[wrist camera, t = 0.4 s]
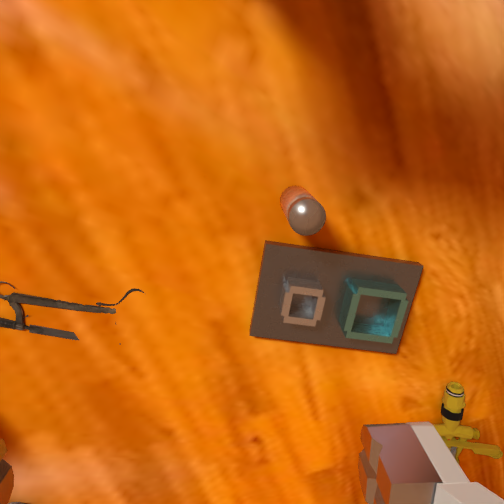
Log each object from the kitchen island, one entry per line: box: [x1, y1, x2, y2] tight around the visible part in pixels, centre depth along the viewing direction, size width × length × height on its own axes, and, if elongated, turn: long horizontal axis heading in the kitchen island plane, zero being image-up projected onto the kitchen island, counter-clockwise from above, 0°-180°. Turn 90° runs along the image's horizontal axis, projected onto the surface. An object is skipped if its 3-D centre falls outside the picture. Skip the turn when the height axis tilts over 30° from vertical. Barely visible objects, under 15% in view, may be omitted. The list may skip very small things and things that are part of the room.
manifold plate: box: [250, 241, 423, 354], centre depth 54 cm, size 14×22×4 cm, turn 81°
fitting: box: [280, 186, 326, 236], centre depth 47 cm, size 4×4×10 cm
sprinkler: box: [432, 382, 503, 464], centre depth 62 cm, size 19×4×15 cm
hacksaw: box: [0, 282, 144, 345], centre depth 55 cm, size 24×10×2 cm, turn 77°
